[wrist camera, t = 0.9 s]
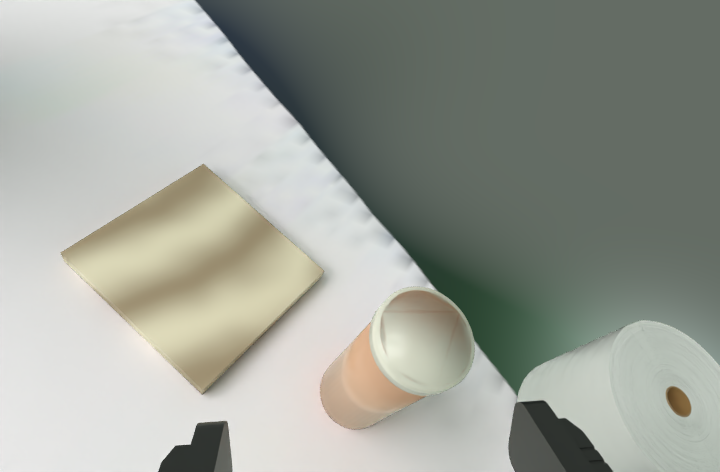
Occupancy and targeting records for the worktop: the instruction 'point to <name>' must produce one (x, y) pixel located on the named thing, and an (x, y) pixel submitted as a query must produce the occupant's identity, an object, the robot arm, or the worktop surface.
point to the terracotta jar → (399, 358)
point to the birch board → (195, 273)
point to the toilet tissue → (638, 398)
